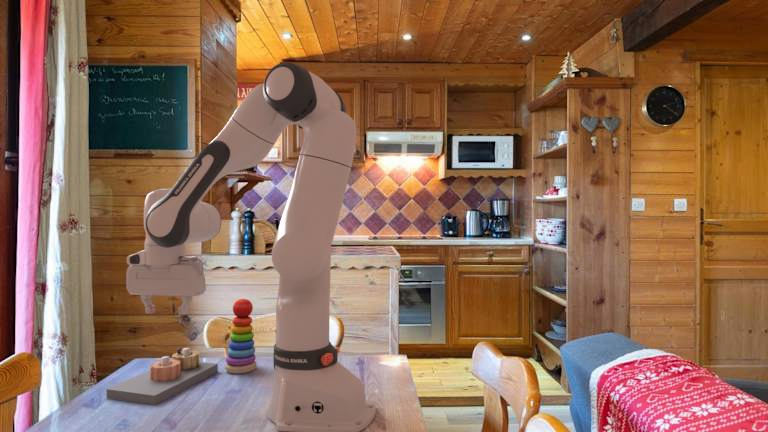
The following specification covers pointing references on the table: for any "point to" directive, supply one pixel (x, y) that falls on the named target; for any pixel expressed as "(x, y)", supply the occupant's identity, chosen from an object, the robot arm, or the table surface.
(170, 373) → the loose gear
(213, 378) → the table surface
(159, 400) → the gear board
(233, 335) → the stacking toy
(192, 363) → the gear
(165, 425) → the table surface
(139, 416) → the table surface
